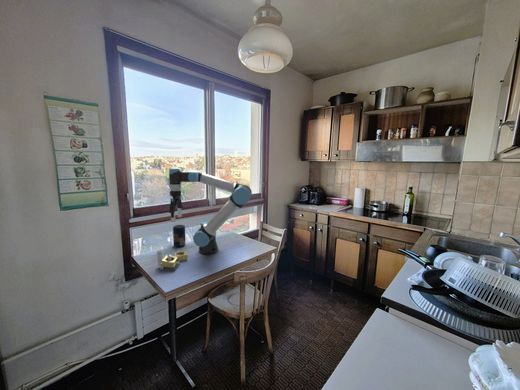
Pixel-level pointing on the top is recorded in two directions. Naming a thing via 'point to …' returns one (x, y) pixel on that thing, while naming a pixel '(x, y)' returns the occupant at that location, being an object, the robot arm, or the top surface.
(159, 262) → the keeper
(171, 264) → the link
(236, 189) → the robot arm
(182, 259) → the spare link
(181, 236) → the canister
